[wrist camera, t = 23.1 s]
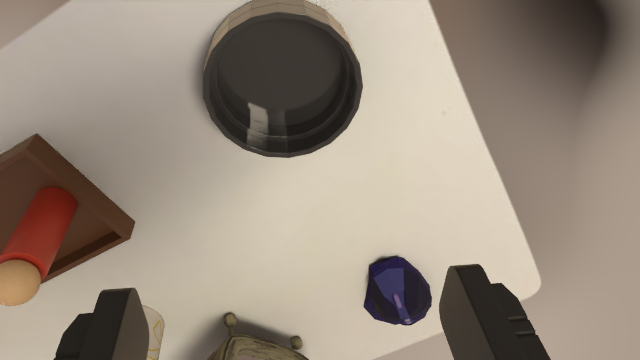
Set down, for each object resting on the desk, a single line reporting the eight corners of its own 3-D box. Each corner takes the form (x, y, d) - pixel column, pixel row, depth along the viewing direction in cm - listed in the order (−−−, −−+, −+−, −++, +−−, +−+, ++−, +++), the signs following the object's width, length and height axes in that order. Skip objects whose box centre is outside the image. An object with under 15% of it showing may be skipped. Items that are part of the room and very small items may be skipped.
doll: (32, 211, 49) (-25, 310, 39) (37, 181, 46) (-22, 279, 37) (73, 221, 50) (29, 320, 40) (80, 193, 48) (35, 290, 38)
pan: (188, 104, 44) (182, 129, 40) (237, -34, 37) (235, -18, 34) (315, 148, 48) (320, 174, 45) (379, 32, 42) (391, 52, 38)
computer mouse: (376, 331, 68) (382, 356, 65) (342, 268, 59) (347, 293, 56) (439, 311, 67) (448, 336, 64) (413, 243, 58) (422, 268, 55)
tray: (17, 283, 55) (8, 301, 53) (-93, 210, 48) (-109, 228, 46) (135, 221, 52) (130, 238, 50) (36, 132, 44) (26, 148, 42)
